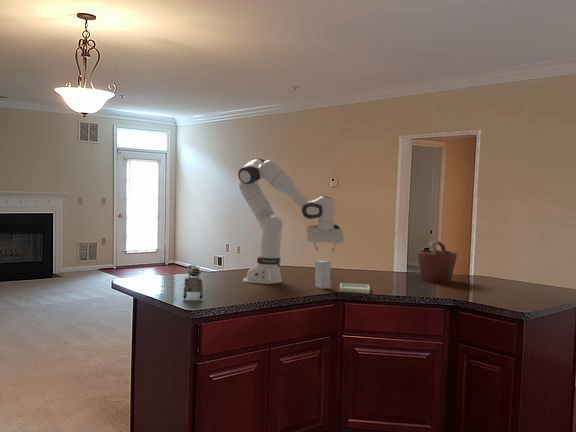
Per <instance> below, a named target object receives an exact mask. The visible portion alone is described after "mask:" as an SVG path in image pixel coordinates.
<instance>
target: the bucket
mask: <svg viewBox="0 0 576 432" xmlns="http://www.w3.org/2000/svg"><path fill="white" fill-rule="evenodd" d="M436 244H438V246H439V248H440V249H439V250H437V249H436V247H435V245H436ZM428 246H429V248H430V249H421V250H419V251H418V254H417V256H418V264H419V270H420V278H421V281H422V282H425V283H429V284H440V285H441V284H442V285H444V284H450V283H451V281H452V277H453V272H454V270H455V265H456V261H457V259H458V258H457V257H458V255H457V254H458V253H457V252H453V251H448V250H447V249H446V246H445V244H444V243H443V242H442V241H436V240H434V241H431V242H430V243H429V244H428Z"/></svg>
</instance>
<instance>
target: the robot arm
mask: <svg viewBox="0 0 576 432" xmlns="http://www.w3.org/2000/svg"><path fill="white" fill-rule="evenodd" d="M237 175H238V179H239V181H240V182H239V183H238V184H239V185H238V186H239V190H240V191H241V194H242V196H243V198H244V200H245V202H246V204H248V207H249V208H250V210H251V212H252V213H253V215H254V217H255V218H256V220H257V222H258V224H259V227H261V229H262V236H261V241H260V242H261V243H260V256H258V257H257V258H256V264H255V265H253V266H252V267H250V268H249V269H248V271H247V272H246V273H247V274H246V277H243V278H242V282H244V283H253V284H263V285H269V284H270V285H271V284H278V283H279V284H280V283H282V282H283V281H282V277H281V275H282V274H281V261H282V260H281V241H282V234H283V220H282V219H281V217H280V216H278V215H276V213H275V211H274V209H273V207H272V206H271V203H270V201H269V199H268V198H267V196H266V194H265V193H264V191H263V189H262V188H261V187H260V184H259V181H260V180H261V179H264V180H266V182H267V183H268V184H269V185H271V187H273V189H275V190H276V191H277V192H280V193H282V194H284V195H286V196H288V197H289V198H290V199H291V200H292V201H294V203H296V205H297V206H299V208H300V210H301V213H302V215H303V216H304V218H306V219H308V220H313V219H317V224H309V225H308V226H307V227H306V232H307V237H306V241H307V242H309V243H310V242H311V243H313V246H314V247H315V249H314V250H315V251H319V246H317V243H327V244H328V243H331V244H333V247H331V252H335V249H336V247H337V245H338V244H343V243H344V242H345V240H344V238H345V237H344V232H343V231H344V230H343V226H342V225H340V224H337V223H335V218H334V216H335V211H336V209H335V200H334V199H333V198H332V197H331V196H330V197H329V196H324V195H321V196H319V197H317V198H315V199H313V200H310V199H309V198H307V197H306V195H305V194H303V193H302V192H301V191H300V189H298V187H297V186H296V184H295V183H294V181H293V179H292V177H291V176H290V174H288V172H287V171H286V170H285V169H284V168H283V167H282V166H280V165H279V164H278V163H276V162H275V161H274V160H272V159H267V160H264V159H263V158H261V157H257V158H253V159H252V160H250V161H248V162H246V163H245V164H244V165H243V166H241V167H240V168H239V170H238V174H237Z"/></svg>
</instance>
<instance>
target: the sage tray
mask: <svg viewBox="0 0 576 432" xmlns="http://www.w3.org/2000/svg"><path fill="white" fill-rule="evenodd" d="M338 290H339V293H349V294H350V293H351V294H352V293H354V294H368V295H369V294H371V288H370V284H368V283H367V284H365V283H347V282H346V283H345V282H340V283H339V289H338Z"/></svg>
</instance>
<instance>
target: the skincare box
mask: <svg viewBox="0 0 576 432" xmlns="http://www.w3.org/2000/svg"><path fill="white" fill-rule="evenodd" d="M314 263H315V266H314V267H315V281H314V282H315V285H314V286H315V287H316V288H318V289H328V290H329V289H331V261H328V260H315V261H314Z"/></svg>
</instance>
